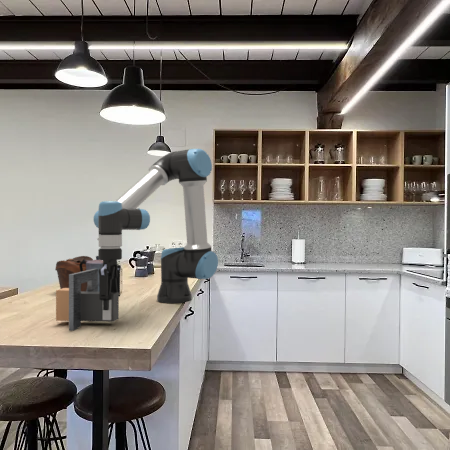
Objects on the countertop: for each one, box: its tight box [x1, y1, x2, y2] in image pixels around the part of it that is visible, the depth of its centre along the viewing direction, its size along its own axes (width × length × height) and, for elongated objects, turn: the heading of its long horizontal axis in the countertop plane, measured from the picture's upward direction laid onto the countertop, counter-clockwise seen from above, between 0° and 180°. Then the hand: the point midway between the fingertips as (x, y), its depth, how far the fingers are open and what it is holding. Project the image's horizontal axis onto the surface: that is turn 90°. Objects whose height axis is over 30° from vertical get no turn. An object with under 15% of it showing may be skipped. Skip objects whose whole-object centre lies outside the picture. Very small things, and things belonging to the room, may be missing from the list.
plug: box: [55, 288, 120, 323], centre depth 138 cm, size 20×6×10 cm, turn 84°
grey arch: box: [68, 269, 98, 332], centre depth 138 cm, size 2×18×18 cm, turn 173°
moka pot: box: [79, 255, 103, 292], centre depth 178 cm, size 10×15×20 cm, turn 78°
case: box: [55, 255, 94, 291], centre depth 201 cm, size 18×20×18 cm
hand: (110, 317), depth 137 cm, fingers closed on plug, 4 cm apart
